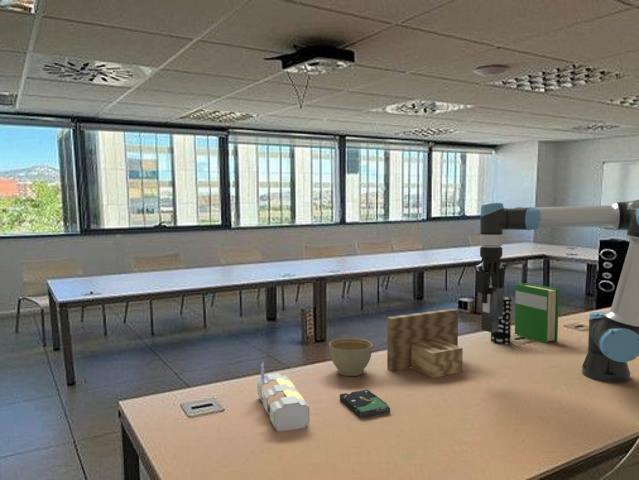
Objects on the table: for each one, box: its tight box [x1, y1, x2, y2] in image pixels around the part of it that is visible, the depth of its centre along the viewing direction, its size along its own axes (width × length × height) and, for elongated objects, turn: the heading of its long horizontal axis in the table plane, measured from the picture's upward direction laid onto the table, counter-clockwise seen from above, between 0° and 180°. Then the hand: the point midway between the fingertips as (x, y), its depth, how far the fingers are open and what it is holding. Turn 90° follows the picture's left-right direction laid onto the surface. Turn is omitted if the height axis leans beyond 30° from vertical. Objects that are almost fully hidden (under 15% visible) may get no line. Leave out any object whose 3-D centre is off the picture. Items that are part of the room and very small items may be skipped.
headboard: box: [386, 308, 464, 379], centre depth 186 cm, size 32×16×20 cm, turn 117°
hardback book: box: [514, 282, 560, 345], centre depth 227 cm, size 18×7×24 cm, turn 25°
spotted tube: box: [490, 295, 512, 345], centre depth 221 cm, size 8×8×20 cm
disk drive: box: [339, 389, 391, 420], centre depth 153 cm, size 10×3×15 cm
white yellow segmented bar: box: [256, 361, 311, 432], centre depth 149 cm, size 25×10×13 cm, turn 17°
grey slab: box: [477, 285, 504, 334], centre depth 176 cm, size 3×9×16 cm, turn 27°
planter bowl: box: [328, 337, 373, 377], centre depth 183 cm, size 16×16×11 cm
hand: (490, 311), depth 176 cm, fingers closed on grey slab, 3 cm apart
